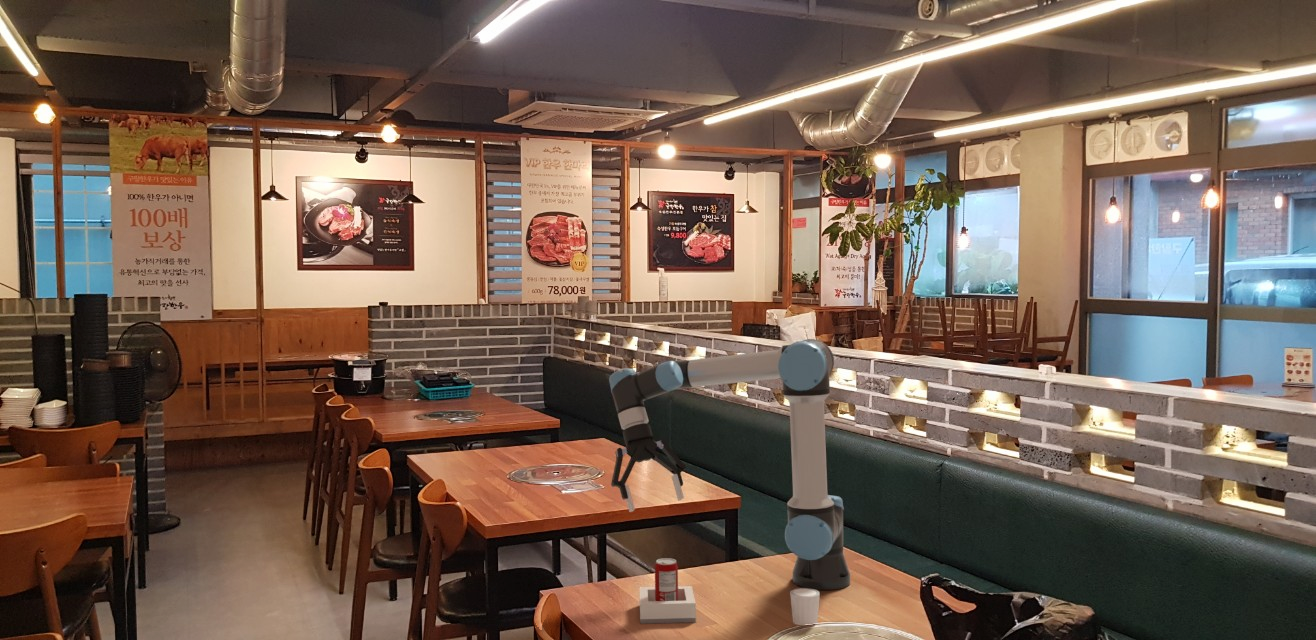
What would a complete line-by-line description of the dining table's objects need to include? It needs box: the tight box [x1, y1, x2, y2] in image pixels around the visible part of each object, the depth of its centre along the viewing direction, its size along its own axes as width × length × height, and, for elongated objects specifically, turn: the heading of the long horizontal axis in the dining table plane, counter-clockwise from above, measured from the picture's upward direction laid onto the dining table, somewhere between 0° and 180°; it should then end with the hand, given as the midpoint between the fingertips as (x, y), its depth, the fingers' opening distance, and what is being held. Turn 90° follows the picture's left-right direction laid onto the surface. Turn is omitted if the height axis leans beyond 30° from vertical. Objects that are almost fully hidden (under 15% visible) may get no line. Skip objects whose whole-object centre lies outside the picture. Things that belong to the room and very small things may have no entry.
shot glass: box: [789, 587, 821, 626], centre depth 224 cm, size 7×7×7 cm
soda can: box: [654, 557, 679, 601], centre depth 230 cm, size 6×6×12 cm
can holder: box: [638, 585, 697, 624], centre depth 230 cm, size 13×13×4 cm
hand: (656, 505), depth 246 cm, fingers open, 13 cm apart
